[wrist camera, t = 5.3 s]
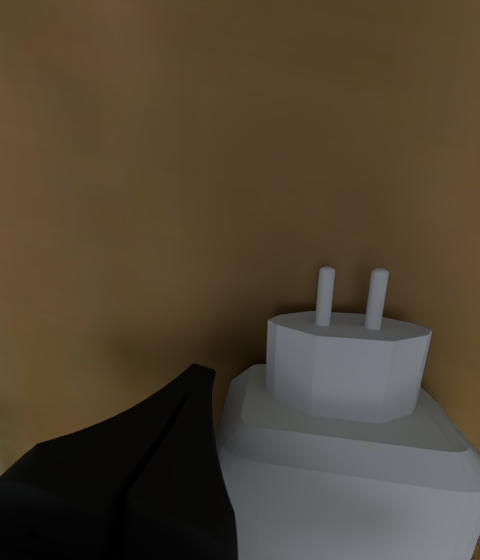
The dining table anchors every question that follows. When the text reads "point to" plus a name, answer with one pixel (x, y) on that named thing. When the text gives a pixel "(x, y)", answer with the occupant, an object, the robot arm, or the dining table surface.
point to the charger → (346, 443)
